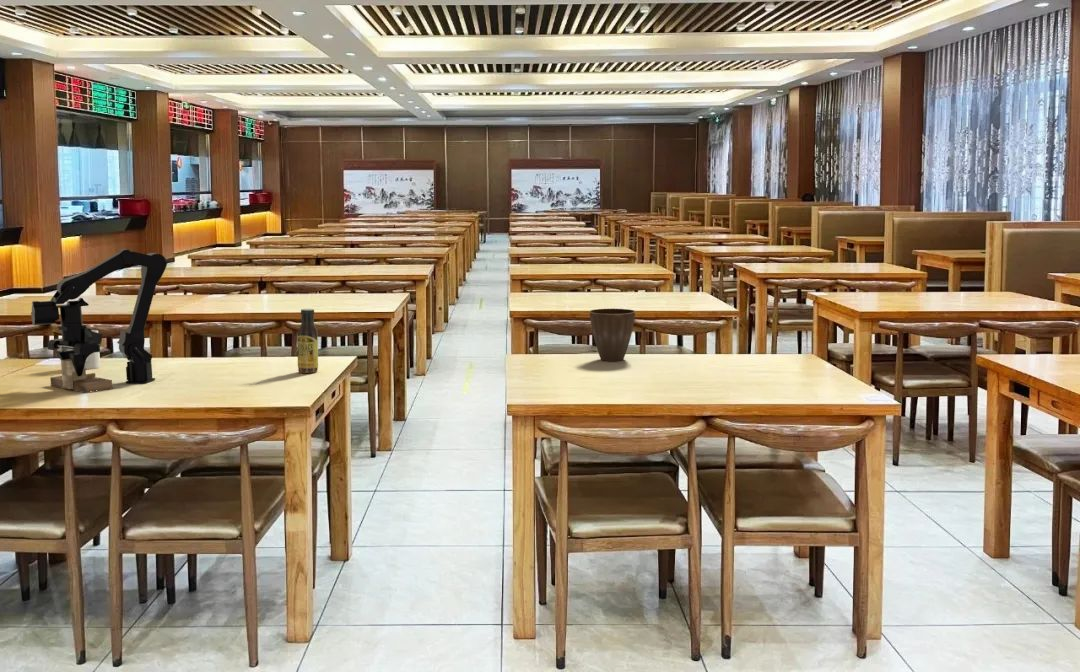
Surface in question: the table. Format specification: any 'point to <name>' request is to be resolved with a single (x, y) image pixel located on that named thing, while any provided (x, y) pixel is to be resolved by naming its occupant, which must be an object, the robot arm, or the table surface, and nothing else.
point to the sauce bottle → (307, 343)
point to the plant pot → (612, 332)
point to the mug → (93, 359)
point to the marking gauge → (72, 374)
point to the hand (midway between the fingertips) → (75, 375)
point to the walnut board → (84, 383)
